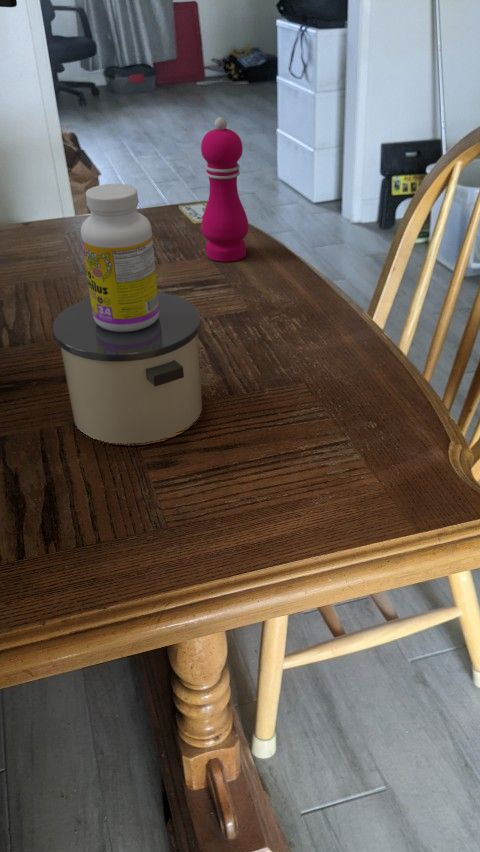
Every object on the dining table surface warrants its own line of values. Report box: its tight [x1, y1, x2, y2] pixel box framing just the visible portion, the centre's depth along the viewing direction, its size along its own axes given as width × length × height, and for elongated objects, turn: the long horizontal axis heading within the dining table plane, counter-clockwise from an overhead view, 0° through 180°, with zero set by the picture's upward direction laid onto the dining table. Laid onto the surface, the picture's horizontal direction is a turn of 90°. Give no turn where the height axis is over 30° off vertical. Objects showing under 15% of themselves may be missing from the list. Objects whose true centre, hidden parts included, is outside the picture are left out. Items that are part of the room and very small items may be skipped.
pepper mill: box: [200, 116, 249, 263], centre depth 116 cm, size 7×7×20 cm
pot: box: [52, 291, 203, 444], centre depth 82 cm, size 15×17×11 cm
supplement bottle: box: [80, 183, 159, 332], centre depth 75 cm, size 7×7×13 cm
